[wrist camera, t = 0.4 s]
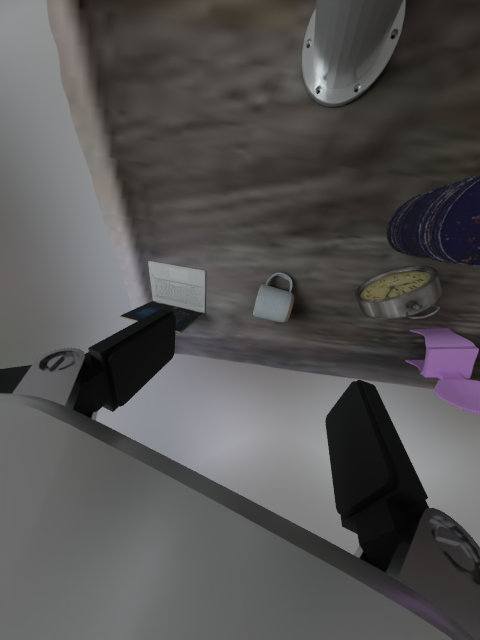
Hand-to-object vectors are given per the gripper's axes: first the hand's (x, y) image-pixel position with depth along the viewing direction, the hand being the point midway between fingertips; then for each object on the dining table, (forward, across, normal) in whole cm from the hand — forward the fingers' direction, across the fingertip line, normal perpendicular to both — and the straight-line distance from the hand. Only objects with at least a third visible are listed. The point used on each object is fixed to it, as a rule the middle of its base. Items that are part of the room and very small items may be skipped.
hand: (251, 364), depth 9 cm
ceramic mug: (+37, +1, +8) cm, 37 cm away
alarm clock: (+37, -19, 0) cm, 41 cm away
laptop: (+37, +28, +15) cm, 49 cm away
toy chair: (+36, -33, +9) cm, 50 cm away
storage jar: (+37, -19, -12) cm, 43 cm away
